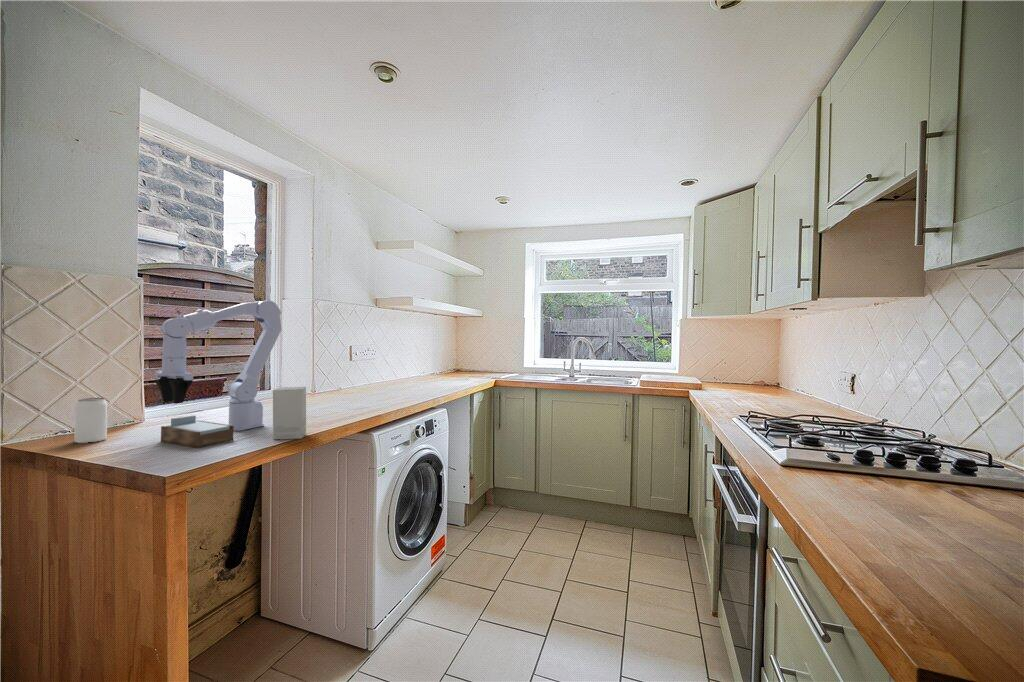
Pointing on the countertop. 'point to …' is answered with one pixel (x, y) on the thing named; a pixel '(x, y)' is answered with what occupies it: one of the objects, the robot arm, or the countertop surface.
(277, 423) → the skincare box
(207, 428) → the cover plate
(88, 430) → the can
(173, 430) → the walnut box
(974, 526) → the countertop surface
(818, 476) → the countertop surface
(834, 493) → the countertop surface
